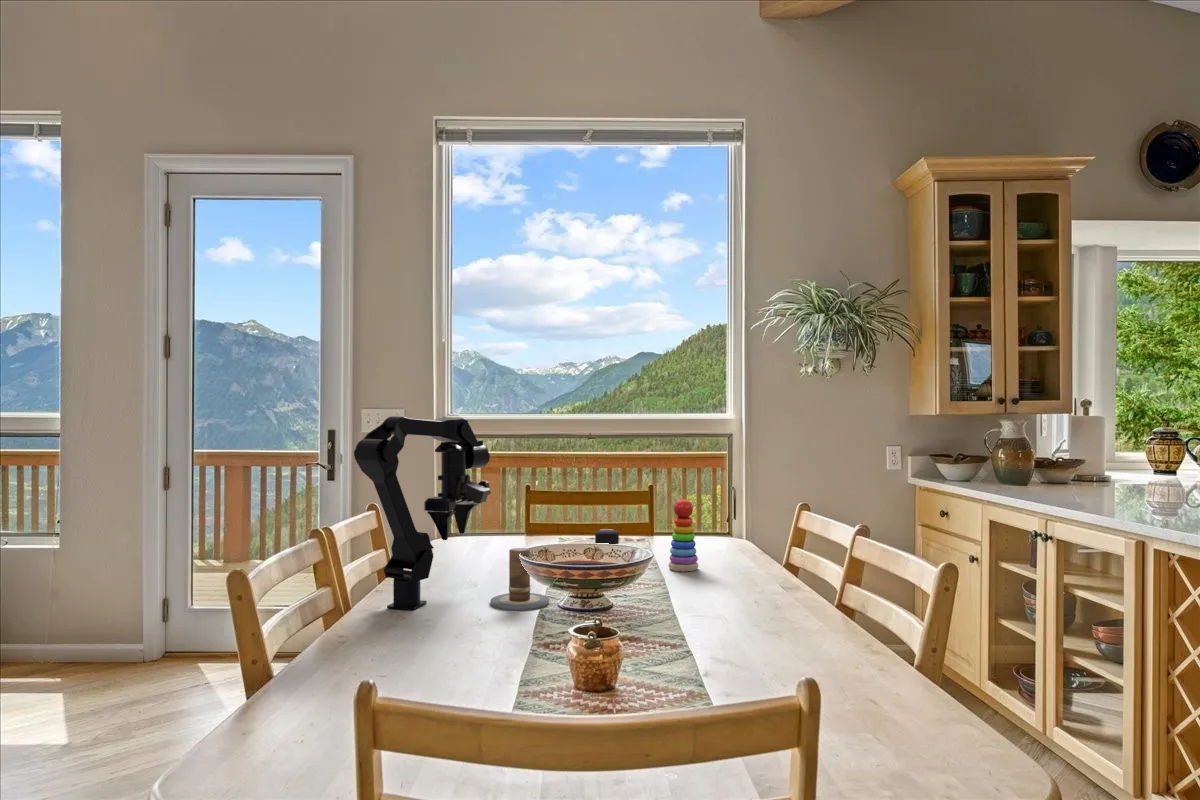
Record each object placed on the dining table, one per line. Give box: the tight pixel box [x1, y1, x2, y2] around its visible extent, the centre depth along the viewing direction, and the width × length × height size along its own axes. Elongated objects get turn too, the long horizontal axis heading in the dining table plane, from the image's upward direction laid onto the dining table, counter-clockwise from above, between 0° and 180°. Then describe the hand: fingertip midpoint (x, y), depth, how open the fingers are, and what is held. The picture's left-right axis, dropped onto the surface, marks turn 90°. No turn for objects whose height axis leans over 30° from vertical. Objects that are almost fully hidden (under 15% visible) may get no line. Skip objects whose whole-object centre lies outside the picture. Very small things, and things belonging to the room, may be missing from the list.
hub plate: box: [489, 592, 550, 612], centre depth 181 cm, size 13×13×1 cm
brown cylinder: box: [508, 547, 531, 602], centre depth 181 cm, size 5×5×11 cm
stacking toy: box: [668, 499, 699, 573], centre depth 217 cm, size 8×8×19 cm
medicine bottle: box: [594, 528, 620, 545], centre depth 207 cm, size 7×7×12 cm
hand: (453, 536), depth 192 cm, fingers open, 9 cm apart
